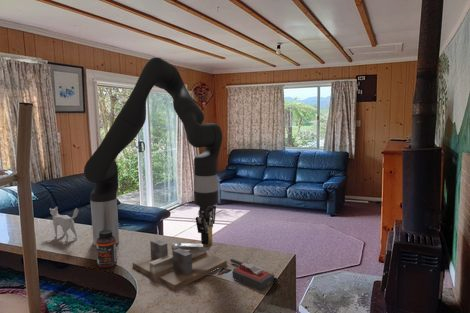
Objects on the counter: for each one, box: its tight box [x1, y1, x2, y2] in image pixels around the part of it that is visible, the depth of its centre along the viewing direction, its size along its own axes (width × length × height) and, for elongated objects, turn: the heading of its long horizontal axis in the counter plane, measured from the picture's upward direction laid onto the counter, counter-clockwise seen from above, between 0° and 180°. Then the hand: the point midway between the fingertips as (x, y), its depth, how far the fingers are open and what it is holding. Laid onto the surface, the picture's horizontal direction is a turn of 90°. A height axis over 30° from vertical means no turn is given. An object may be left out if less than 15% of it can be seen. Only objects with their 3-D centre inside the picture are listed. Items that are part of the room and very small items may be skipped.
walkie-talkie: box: [230, 258, 279, 291], centre depth 104 cm, size 9×4×20 cm
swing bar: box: [171, 226, 214, 252], centre depth 109 cm, size 13×3×7 cm, turn 84°
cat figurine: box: [49, 205, 80, 243], centre depth 136 cm, size 4×20×14 cm, turn 54°
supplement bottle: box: [95, 230, 117, 269], centre depth 113 cm, size 6×6×11 cm
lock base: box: [132, 238, 228, 291], centre depth 111 cm, size 22×21×8 cm
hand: (206, 241), depth 109 cm, fingers closed on swing bar, 3 cm apart
